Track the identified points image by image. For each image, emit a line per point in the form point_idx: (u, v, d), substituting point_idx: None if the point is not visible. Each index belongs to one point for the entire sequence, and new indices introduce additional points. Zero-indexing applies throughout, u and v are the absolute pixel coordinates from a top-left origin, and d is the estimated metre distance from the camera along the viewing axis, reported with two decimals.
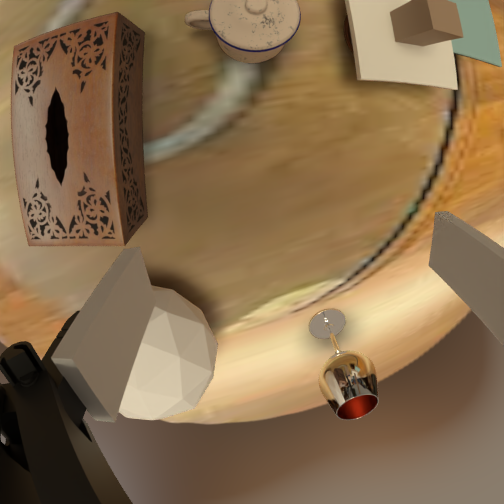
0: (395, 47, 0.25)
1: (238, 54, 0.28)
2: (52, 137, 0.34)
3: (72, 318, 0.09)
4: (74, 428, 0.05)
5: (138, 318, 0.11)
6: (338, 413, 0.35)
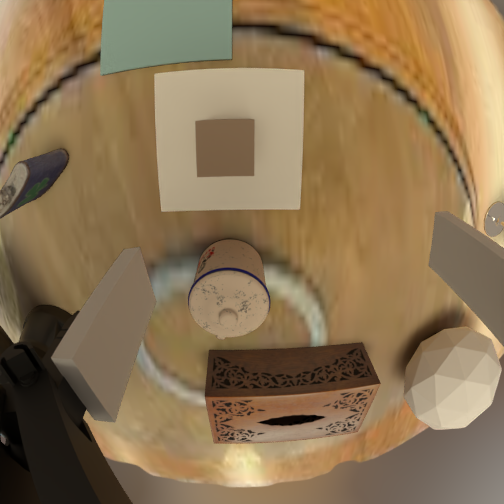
0: (258, 160, 0.28)
1: None
2: None
3: (72, 318, 0.09)
4: (74, 428, 0.05)
5: (138, 318, 0.11)
6: None
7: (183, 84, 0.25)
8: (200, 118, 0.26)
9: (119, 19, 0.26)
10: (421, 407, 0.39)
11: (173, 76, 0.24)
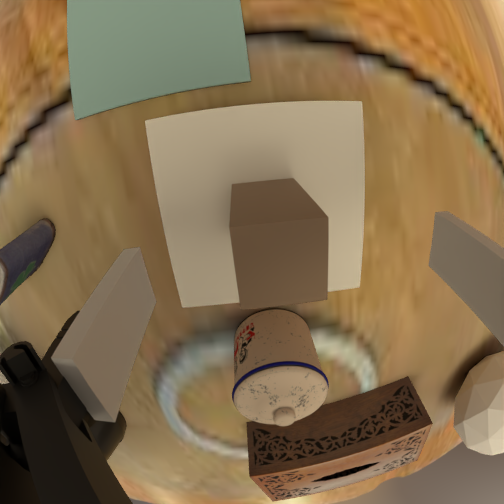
0: None
1: None
2: None
3: (72, 318, 0.09)
4: (74, 428, 0.05)
5: (138, 318, 0.11)
6: None
7: (190, 134, 0.18)
8: (221, 183, 0.19)
9: (89, 41, 0.19)
10: (473, 439, 0.31)
11: (173, 122, 0.17)
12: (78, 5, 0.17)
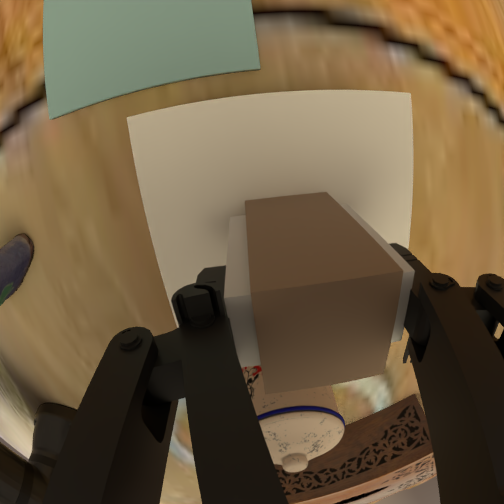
0: None
1: None
2: None
3: (202, 273, 0.11)
4: None
5: None
6: None
7: (188, 134, 0.13)
8: (231, 199, 0.14)
9: (66, 26, 0.14)
10: None
11: (164, 118, 0.13)
12: None
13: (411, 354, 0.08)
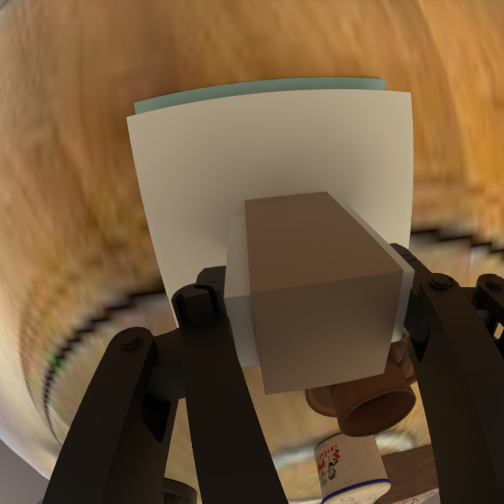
0: None
1: None
2: None
3: (202, 273, 0.11)
4: None
5: None
6: None
7: (188, 134, 0.13)
8: (231, 199, 0.14)
9: None
10: None
11: (164, 118, 0.13)
12: None
13: (411, 354, 0.08)
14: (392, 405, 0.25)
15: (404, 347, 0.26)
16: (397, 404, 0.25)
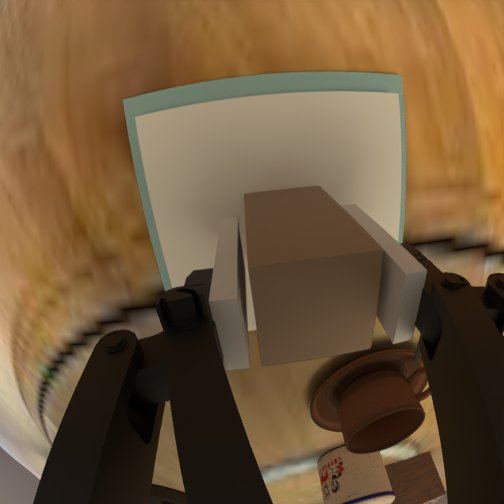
0: None
1: None
2: None
3: (191, 276, 0.11)
4: None
5: (243, 279, 0.13)
6: None
7: (192, 132, 0.14)
8: (231, 192, 0.16)
9: None
10: None
11: (170, 118, 0.14)
12: None
13: (422, 352, 0.08)
14: (400, 420, 0.23)
15: (413, 361, 0.24)
16: (405, 419, 0.23)
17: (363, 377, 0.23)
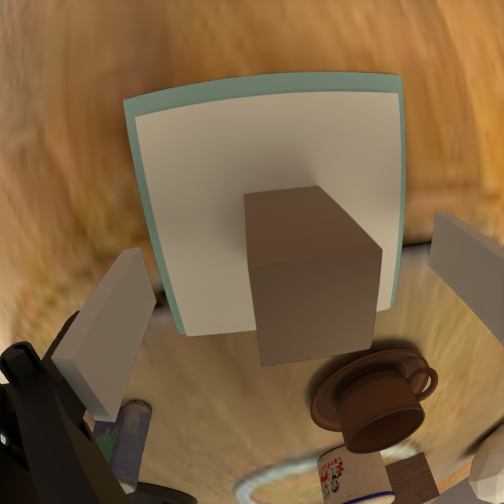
0: None
1: None
2: None
3: (72, 318, 0.09)
4: (74, 428, 0.05)
5: (138, 318, 0.11)
6: None
7: (192, 133, 0.14)
8: (231, 193, 0.16)
9: None
10: (483, 494, 0.30)
11: (170, 118, 0.14)
12: None
13: None
14: (400, 420, 0.23)
15: (413, 361, 0.24)
16: (405, 419, 0.23)
17: (363, 377, 0.23)
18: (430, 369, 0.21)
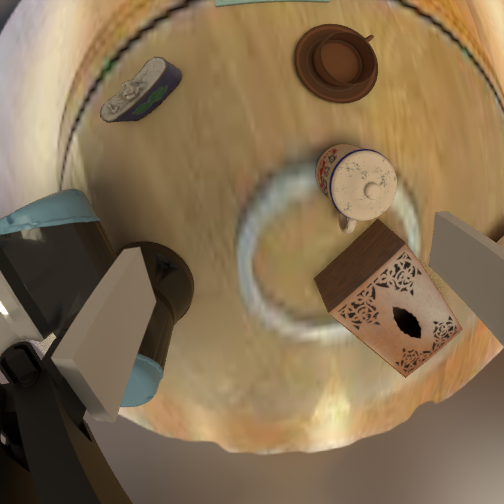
0: None
1: None
2: None
3: (72, 318, 0.09)
4: (74, 428, 0.05)
5: (138, 318, 0.11)
6: None
7: None
8: None
9: None
10: None
11: None
12: None
13: None
14: (364, 76, 0.33)
15: None
16: (366, 73, 0.32)
17: (326, 43, 0.33)
18: (368, 36, 0.31)
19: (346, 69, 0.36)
